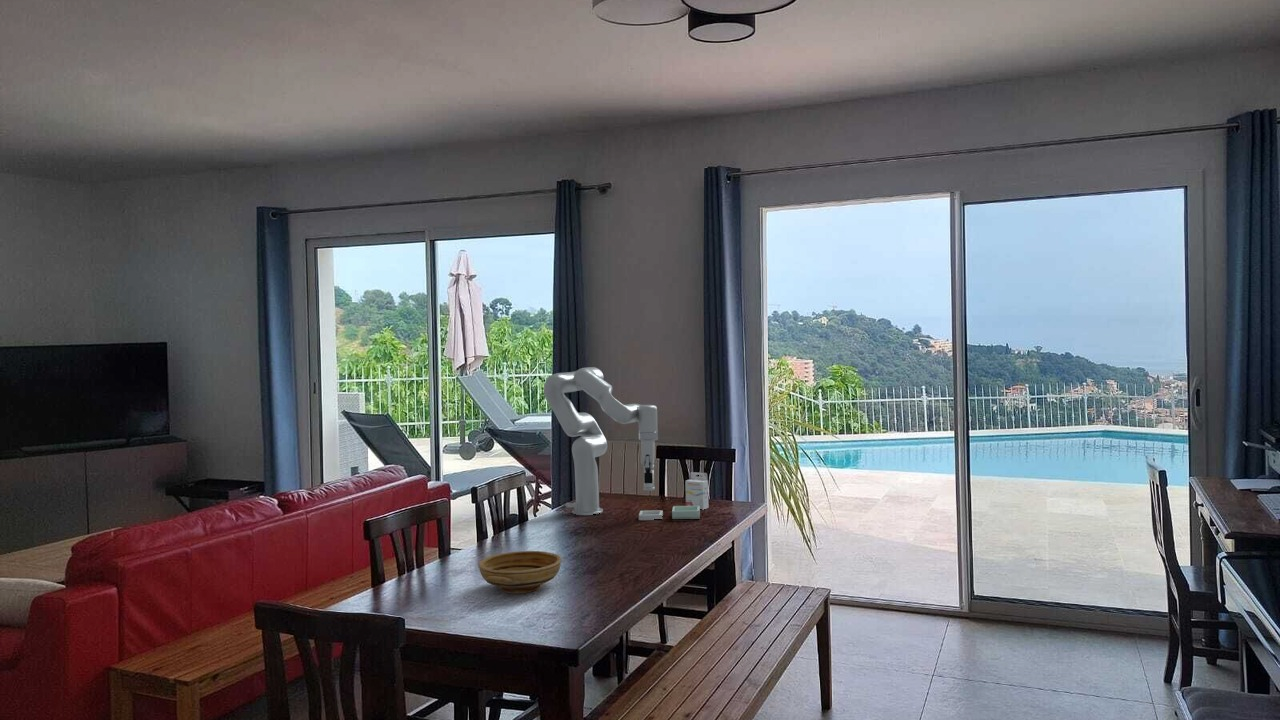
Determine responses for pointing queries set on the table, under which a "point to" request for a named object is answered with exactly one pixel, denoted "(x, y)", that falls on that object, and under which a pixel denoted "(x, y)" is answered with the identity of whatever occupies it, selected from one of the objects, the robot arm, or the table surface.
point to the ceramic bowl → (520, 570)
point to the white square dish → (650, 515)
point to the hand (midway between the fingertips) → (648, 481)
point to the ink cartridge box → (697, 490)
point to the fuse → (649, 485)
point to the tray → (686, 512)
